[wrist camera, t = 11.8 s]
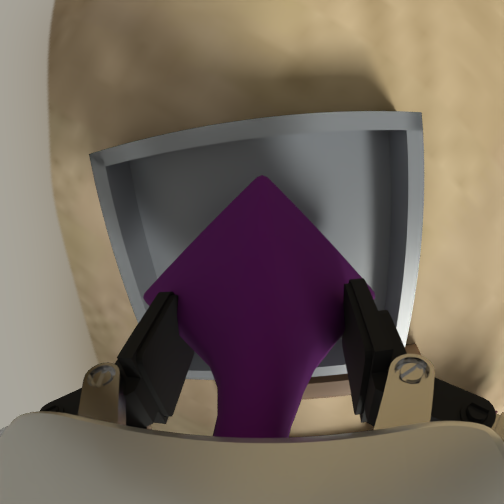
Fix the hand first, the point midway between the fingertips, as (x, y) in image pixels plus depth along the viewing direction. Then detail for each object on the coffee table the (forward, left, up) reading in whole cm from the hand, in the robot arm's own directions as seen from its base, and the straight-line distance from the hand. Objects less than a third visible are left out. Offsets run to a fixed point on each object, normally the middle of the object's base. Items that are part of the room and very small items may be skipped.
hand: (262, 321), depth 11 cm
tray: (0, 0, -6) cm, 6 cm away
